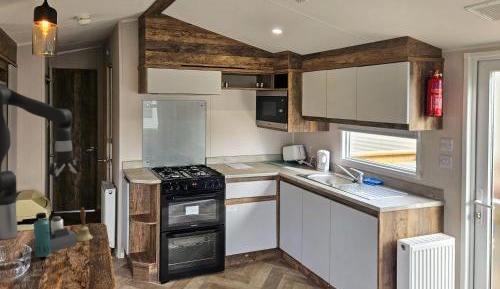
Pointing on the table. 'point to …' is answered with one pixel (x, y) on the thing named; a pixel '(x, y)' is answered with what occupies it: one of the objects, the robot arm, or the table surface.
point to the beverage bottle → (42, 236)
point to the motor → (62, 239)
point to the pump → (56, 224)
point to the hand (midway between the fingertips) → (65, 182)
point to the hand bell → (83, 228)
